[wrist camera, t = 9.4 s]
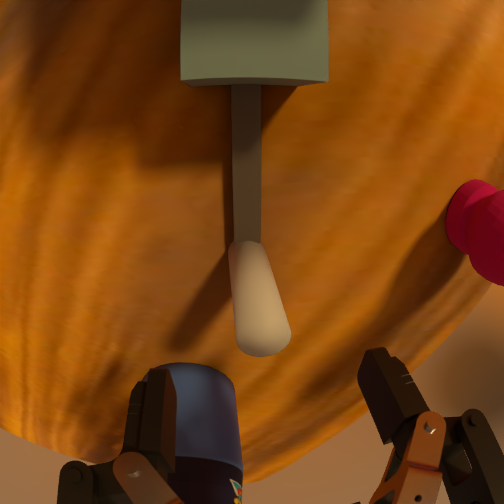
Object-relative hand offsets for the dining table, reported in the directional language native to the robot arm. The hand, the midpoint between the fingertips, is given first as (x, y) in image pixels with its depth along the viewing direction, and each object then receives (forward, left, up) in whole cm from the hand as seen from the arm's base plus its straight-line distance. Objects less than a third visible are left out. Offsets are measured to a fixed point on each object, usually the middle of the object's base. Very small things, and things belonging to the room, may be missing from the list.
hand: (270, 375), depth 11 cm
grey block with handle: (-8, 0, -10) cm, 13 cm away
